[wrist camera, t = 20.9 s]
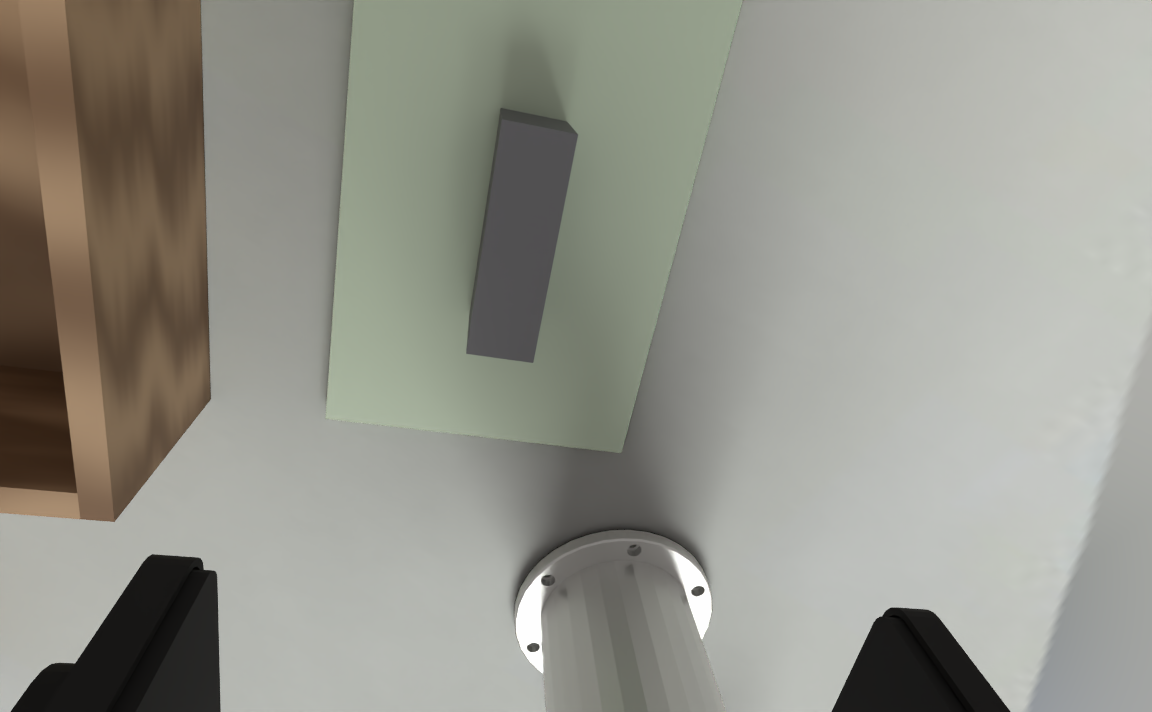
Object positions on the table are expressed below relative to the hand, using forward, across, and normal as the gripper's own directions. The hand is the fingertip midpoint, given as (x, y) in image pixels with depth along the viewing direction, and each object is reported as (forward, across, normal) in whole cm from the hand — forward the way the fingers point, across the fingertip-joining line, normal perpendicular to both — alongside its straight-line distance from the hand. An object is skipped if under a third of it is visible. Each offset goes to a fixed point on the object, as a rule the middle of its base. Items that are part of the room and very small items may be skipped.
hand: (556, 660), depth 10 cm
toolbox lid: (+27, 0, 0) cm, 27 cm away
